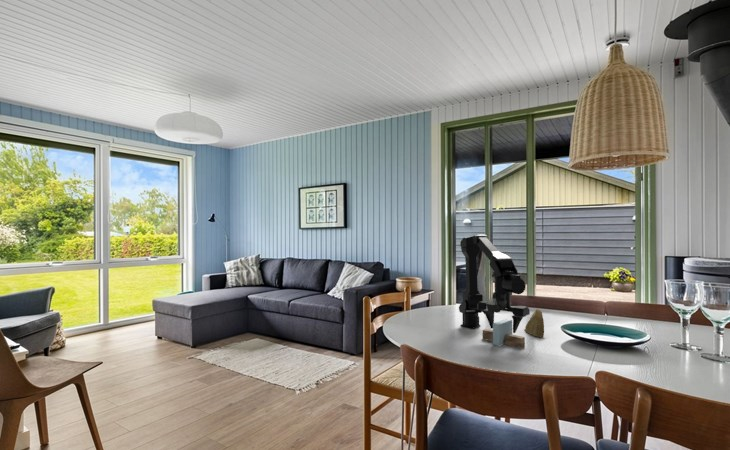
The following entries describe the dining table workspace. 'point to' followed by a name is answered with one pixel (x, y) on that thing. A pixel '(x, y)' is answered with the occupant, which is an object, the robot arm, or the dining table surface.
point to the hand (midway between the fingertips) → (502, 330)
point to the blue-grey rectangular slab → (501, 331)
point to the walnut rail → (510, 338)
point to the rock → (535, 324)
